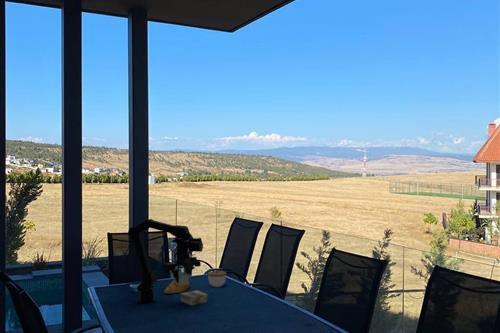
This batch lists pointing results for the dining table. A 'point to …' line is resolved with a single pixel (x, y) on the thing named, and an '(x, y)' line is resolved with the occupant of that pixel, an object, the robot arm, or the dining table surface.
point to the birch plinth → (193, 297)
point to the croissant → (176, 288)
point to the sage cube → (183, 279)
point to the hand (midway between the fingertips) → (182, 281)
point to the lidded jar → (217, 278)
